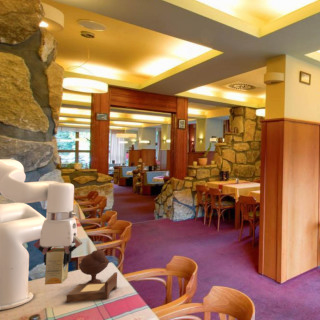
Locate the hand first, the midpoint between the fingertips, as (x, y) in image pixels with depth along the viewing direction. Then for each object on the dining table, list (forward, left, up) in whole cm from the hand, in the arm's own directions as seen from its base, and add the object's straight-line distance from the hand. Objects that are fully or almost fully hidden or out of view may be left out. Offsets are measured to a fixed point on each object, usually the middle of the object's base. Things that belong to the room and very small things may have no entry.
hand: (57, 263), depth 107 cm
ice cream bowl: (+4, +21, -17) cm, 27 cm away
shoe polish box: (0, 0, -7) cm, 7 cm away
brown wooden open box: (+8, +9, -17) cm, 21 cm away
